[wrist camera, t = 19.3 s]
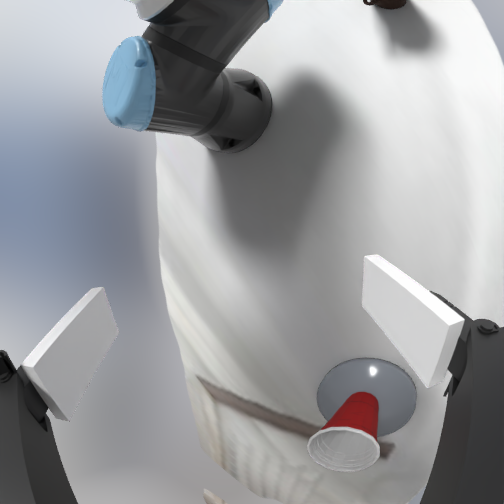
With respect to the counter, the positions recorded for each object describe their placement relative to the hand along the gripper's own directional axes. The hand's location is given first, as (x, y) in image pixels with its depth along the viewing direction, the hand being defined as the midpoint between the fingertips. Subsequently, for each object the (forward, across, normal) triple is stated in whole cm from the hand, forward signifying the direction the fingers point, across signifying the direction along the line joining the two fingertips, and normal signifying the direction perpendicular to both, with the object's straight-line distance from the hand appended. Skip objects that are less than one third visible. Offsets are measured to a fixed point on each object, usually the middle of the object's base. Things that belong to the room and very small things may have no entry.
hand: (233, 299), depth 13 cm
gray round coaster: (+16, +18, -32) cm, 40 cm away
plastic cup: (+16, +17, -32) cm, 39 cm away
